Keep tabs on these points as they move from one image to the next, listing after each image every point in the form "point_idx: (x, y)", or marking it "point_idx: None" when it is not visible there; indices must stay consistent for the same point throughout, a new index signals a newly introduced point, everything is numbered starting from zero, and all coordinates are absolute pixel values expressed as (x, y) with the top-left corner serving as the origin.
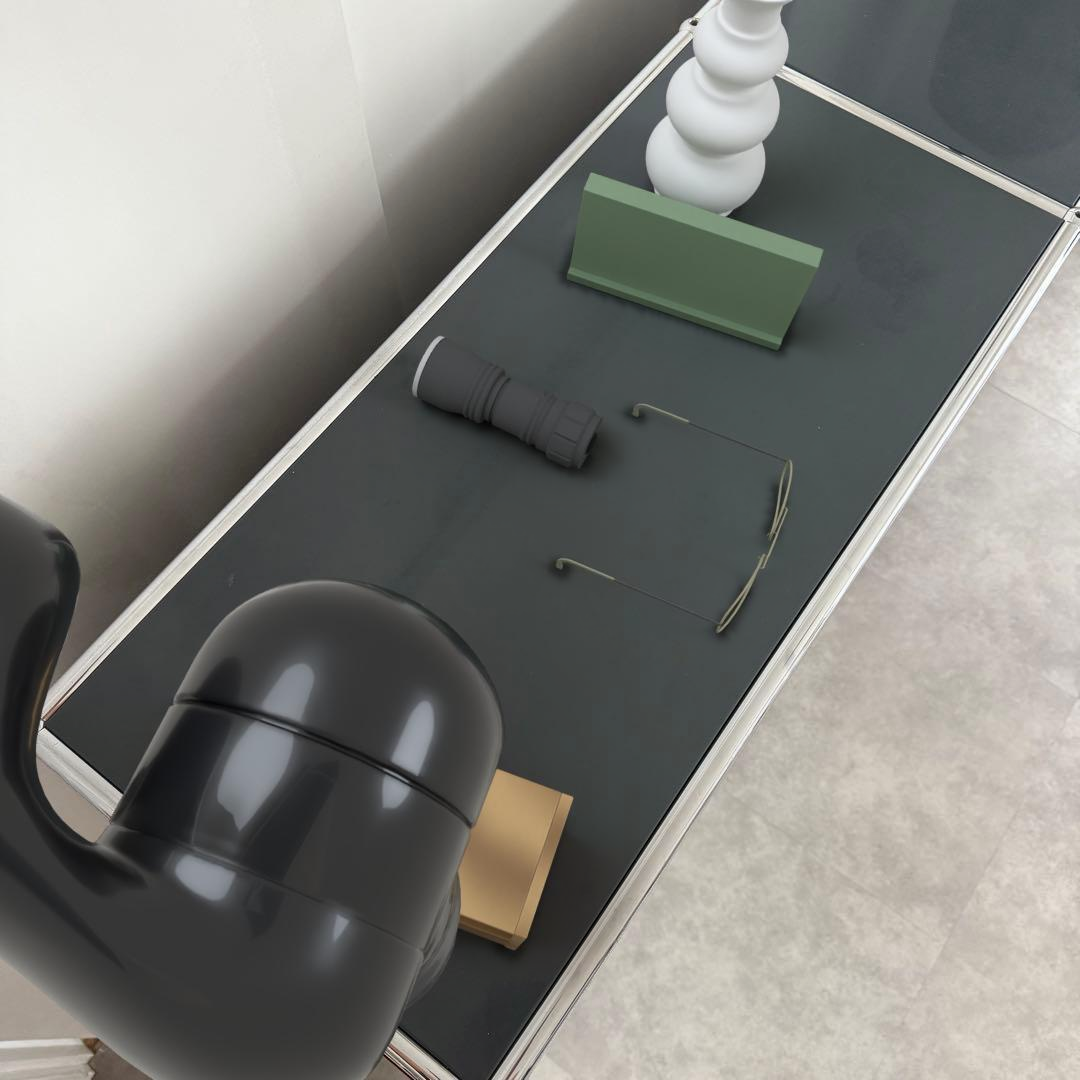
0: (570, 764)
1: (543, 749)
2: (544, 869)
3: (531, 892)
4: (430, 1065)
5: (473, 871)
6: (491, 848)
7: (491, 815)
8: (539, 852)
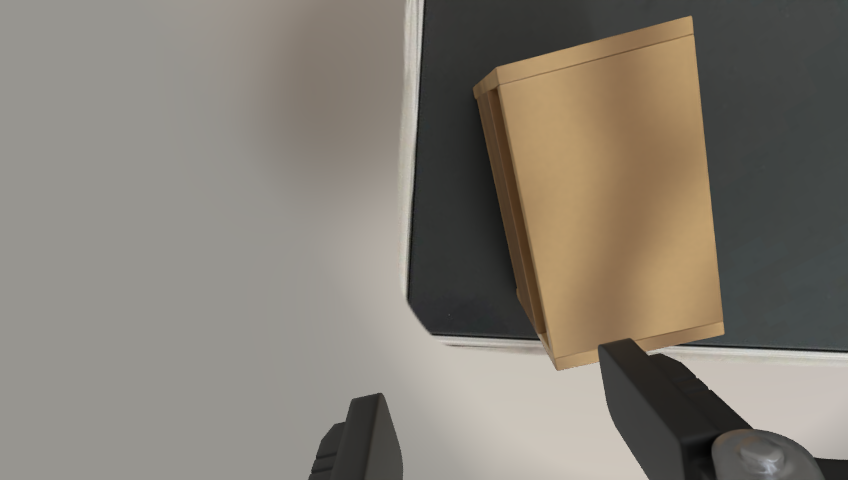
0: None
1: None
2: None
3: None
4: (401, 289)
5: (591, 286)
6: (624, 289)
7: (659, 268)
8: (647, 335)
